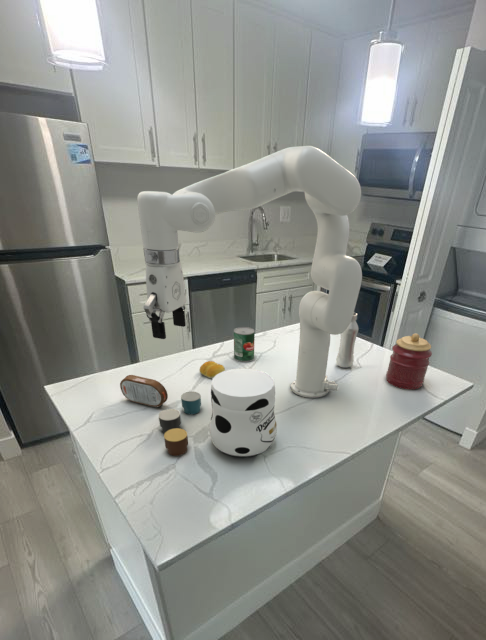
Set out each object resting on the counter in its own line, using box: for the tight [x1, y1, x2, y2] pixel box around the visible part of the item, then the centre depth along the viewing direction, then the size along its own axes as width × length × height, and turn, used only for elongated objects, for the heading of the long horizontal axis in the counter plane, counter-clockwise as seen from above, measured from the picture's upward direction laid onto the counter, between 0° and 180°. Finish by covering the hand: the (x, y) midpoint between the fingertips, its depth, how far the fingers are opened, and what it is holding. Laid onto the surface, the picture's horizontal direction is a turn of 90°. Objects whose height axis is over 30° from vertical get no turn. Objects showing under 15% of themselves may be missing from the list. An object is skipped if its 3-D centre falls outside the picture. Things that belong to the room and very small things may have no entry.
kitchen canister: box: [385, 333, 433, 390], centre depth 128 cm, size 13×13×18 cm
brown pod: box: [163, 427, 189, 457], centre depth 94 cm, size 6×6×5 cm
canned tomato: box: [233, 326, 256, 363], centre depth 142 cm, size 8×8×11 cm
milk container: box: [209, 367, 278, 458], centre depth 94 cm, size 17×17×18 cm
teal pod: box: [180, 391, 202, 415], centre depth 110 cm, size 6×6×5 cm
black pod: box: [158, 408, 182, 434], centre depth 101 cm, size 6×6×5 cm
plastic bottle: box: [335, 312, 360, 369], centre depth 137 cm, size 6×7×20 cm
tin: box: [119, 374, 169, 408], centre depth 111 cm, size 15×3×8 cm, turn 71°
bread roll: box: [199, 360, 226, 379], centre depth 131 cm, size 8×9×4 cm
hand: (170, 331), depth 93 cm, fingers open, 9 cm apart
